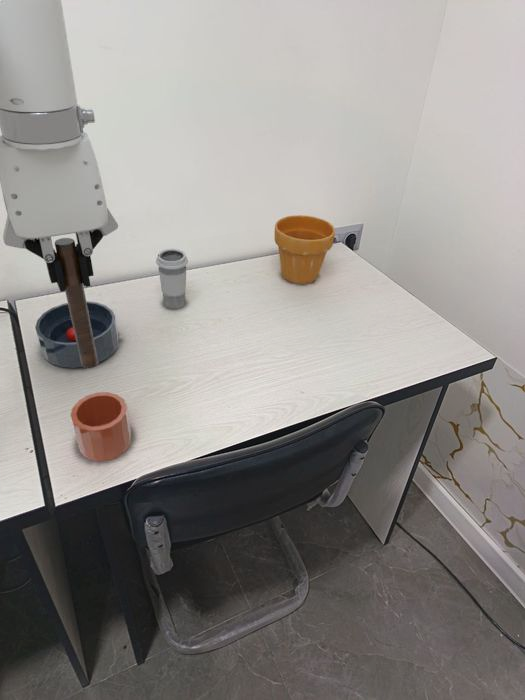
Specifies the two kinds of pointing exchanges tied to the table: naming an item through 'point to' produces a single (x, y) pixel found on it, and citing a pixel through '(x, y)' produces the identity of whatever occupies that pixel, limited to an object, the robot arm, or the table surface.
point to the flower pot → (303, 246)
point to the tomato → (71, 335)
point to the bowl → (66, 352)
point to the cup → (172, 277)
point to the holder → (101, 426)
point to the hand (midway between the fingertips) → (73, 282)
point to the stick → (77, 301)
